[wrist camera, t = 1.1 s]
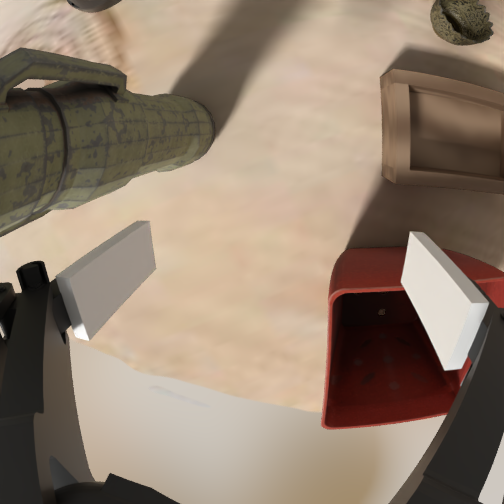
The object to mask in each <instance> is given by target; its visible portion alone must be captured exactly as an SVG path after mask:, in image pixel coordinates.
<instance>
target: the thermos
mask: <svg viewBox="0 0 504 504" xmlns="http://www.w3.org/2000/svg"><path fill="white" fill-rule="evenodd" d="M27 79H43V80H60V81H57V82H54V83H52V84H49V85H47V86H44V87H42V88H27V89H26V90H23V89H21V88H13V87H15V86H17V85H19V84H20V83H22V82H23V81H25V80H27ZM126 79H127V76H126V75H125V74H124V73H122V72H121V71H119V70H118V69H116V68H114V67H112V66H111V65H106V64H101V63H94V62H90V61H86V60H82V59H78V58H73V57H69V56H64V55H60V54H55V53H50V52H44V51H39V50H33V49H27V48H19V49H17V50H15V51H13V52H11V53H10V54H8V55H6V56H4V57H3V58H1V59H0V237H2V236H4V235H6V234H8V233H10V232H12V231H14V230H16V229H18V228H20V227H22V226H24V225H26V224H28V223H30V222H32V221H34V220H36V219H38V218H40V217H42V216H44V215H45V214H47V213H48V212H50V211H51V210H64V209H74V208H76V207H78V206H80V205H83V204H85V203H87V202H90V201H92V200H94V199H97V198H99V197H101V196H104V195H106V194H109V193H111V192H113V191H115V190H117V189H119V188H121V187H123V186H125V185H126V184H127V183H128V182H129V181H130V180H131V179H132V178H135V177H138V176H141V175H144V174H147V173H150V172H153V171H158V172H164V171H171V170H174V169H177V168H180V167H183V166H185V165H188V164H190V163H192V162H194V161H196V160H198V159H200V158H201V157H202V156H203V155H204V154H206V153H207V151H208V150H209V148H210V147H211V145H212V143H213V139H214V135H215V127H214V121H213V119H212V116H211V114H210V112H209V111H208V110H207V109H206V108H205V106H203V105H201V104H200V103H198V102H196V101H193V100H191V99H189V98H185V97H181V96H176V95H171V94H159V95H154V96H149V95H142V94H135V93H132V92H130V91H128V90H126Z"/></svg>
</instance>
